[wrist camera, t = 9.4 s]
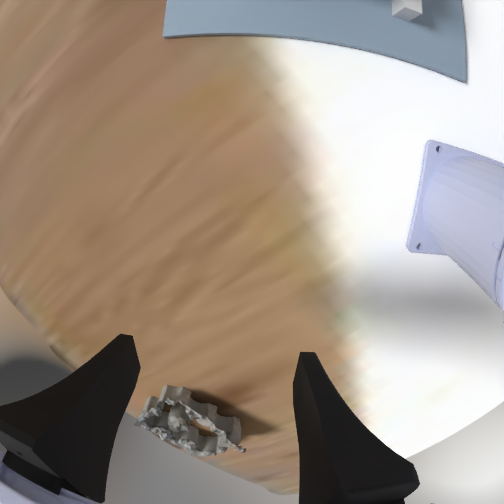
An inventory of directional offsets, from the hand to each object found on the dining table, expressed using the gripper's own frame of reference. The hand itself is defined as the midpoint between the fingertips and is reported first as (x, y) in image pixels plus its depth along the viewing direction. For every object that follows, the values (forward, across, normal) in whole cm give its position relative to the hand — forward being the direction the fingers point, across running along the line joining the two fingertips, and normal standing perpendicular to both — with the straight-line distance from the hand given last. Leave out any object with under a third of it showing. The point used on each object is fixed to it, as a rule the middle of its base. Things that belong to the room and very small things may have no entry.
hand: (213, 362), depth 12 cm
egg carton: (+10, +4, +19) cm, 22 cm away
